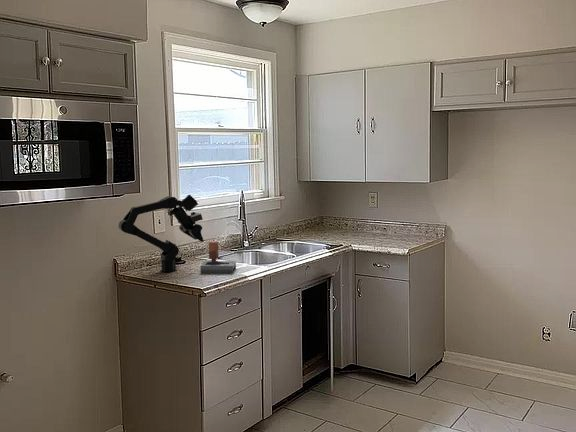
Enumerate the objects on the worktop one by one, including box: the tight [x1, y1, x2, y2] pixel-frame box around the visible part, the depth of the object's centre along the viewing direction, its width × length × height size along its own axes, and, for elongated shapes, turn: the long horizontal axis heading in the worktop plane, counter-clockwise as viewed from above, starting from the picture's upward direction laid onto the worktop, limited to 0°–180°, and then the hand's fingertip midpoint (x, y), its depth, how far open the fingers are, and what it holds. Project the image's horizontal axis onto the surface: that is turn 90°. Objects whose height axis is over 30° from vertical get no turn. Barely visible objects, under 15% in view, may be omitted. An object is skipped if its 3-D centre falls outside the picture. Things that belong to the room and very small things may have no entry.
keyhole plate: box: [199, 260, 237, 275], centre depth 305 cm, size 16×13×4 cm
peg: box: [208, 240, 220, 261], centre depth 316 cm, size 5×5×13 cm
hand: (199, 240), depth 313 cm, fingers open, 9 cm apart
